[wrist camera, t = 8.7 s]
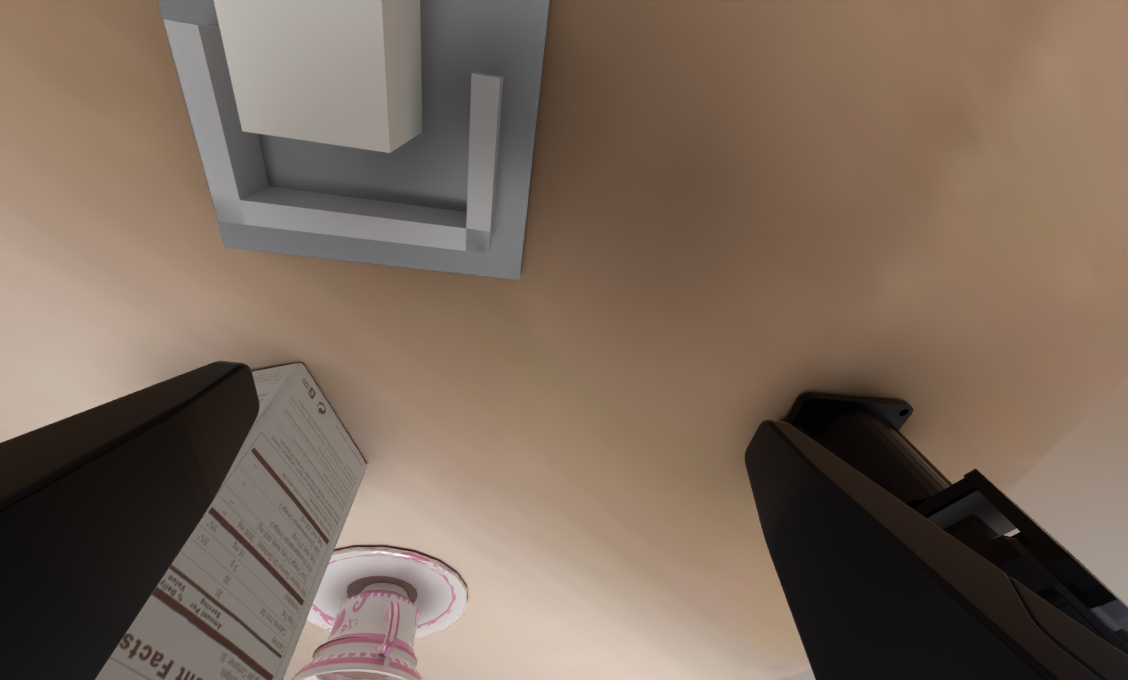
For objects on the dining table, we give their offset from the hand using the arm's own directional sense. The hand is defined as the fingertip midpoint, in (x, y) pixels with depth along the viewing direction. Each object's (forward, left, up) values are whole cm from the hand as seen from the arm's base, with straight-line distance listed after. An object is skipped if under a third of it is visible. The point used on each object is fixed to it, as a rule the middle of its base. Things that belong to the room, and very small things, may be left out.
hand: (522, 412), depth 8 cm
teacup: (+7, +28, -11) cm, 31 cm away
